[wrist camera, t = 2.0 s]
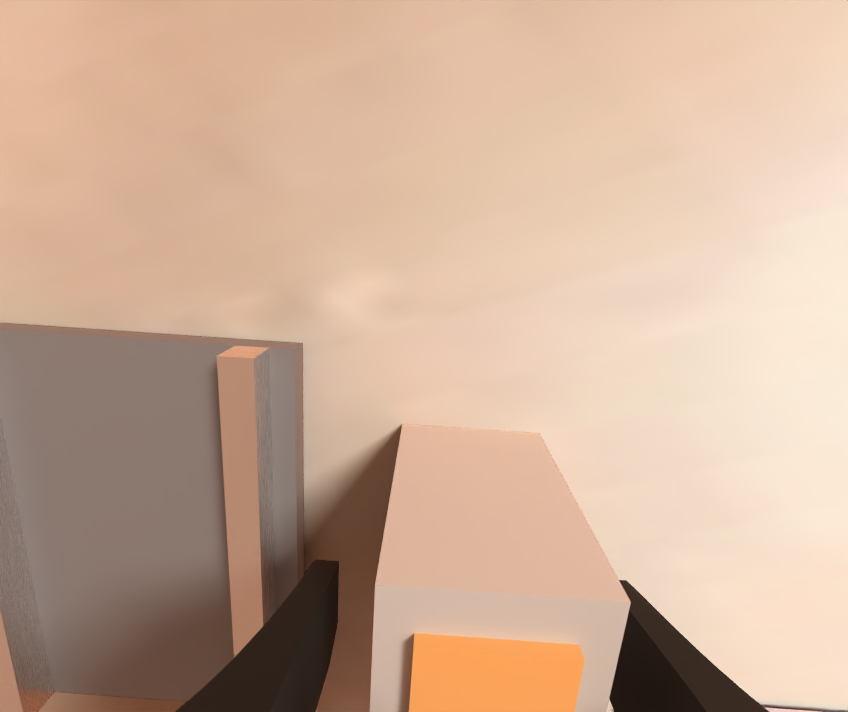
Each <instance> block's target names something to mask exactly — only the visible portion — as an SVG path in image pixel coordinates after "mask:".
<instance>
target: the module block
mask: <svg viewBox="0 0 848 712" xmlns="http://www.w3.org/2000/svg"><path fill="white" fill-rule="evenodd" d="M630 604H631V602H630V600H629V598H628V596H627V594H626V592H625V590H624V589H623V587H622V585H621V583H620V581H619V579H618V578H617V576H616V574H615V572H614V570H613V568H612V566H611V565H610V563H609V561H608V559H607V557H606V555H605V553H604V552H603V550H602V548H601V546H600V544H599V542H598V541H597V539H596V537H595V535H594V533H593V531H592V529H591V528H590V526H589V524H588V522H587V520H586V518H585V516H584V515H583V513H582V511H581V509H580V507H579V505H578V504H577V502H576V500H575V498H574V496H573V494H572V492H571V491H570V489H569V487H568V485H567V483H566V481H565V480H564V478H563V476H562V474H561V472H560V470H559V468H558V467H557V465H556V463H555V461H554V459H553V457H552V455H551V454H550V452H549V450H548V448H547V446H546V444H545V443H544V441H543V439H542V437H541V435H540V433H529V432H515V431H500V430H485V429H471V428H456V427H441V426H427V425H412V424H402V429H401V435H400V441H399V447H398V452H397V458H396V464H395V470H394V476H393V482H392V488H391V494H390V499H389V505H388V511H387V517H386V523H385V529H384V535H383V541H382V547H381V552H380V558H379V564H378V570H377V576H376V582H375V598H374V621H373V644H372V668H371V691H370V712H606V710H607V706H608V702H609V697H610V693H611V688H612V684H613V679H614V675H615V671H616V666H617V662H618V657H619V653H620V648H621V644H622V640H623V635H624V631H625V626H626V622H627V617H628V613H629V608H630Z"/></svg>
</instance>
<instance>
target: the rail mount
mask: <svg viewBox="0 0 848 712" xmlns="http://www.w3.org/2000/svg"><path fill="white" fill-rule="evenodd" d="M303 576H304V473H303V343H291V342H276V341H261V340H247V339H232V338H217V337H203V336H188V335H173V334H159V333H144V332H129V331H114V330H100V329H85V328H70V327H56V326H41V325H26V324H12V323H0V712H38V711H39V710H40V709H41V708H42V706H43V705H44V704H45V703H46V702H47V700H48V699H49V698H50V697H51V696H52V694H53V693H54V692H59V693H73V694H87V695H101V696H115V697H129V698H143V699H157V700H171V701H185V702H187V701H188V700H189V699H190V698H192V697H193V696H194V695H195V694H196V693H197V692H198V691H200V690H201V689H202V688H203V687H204V686H205V685H206V684H207V683H208V682H209V681H211V680H212V679H213V678H214V677H215V676H216V675H217V674H218V673H219V672H220V671H221V670H222V669H223V668H224V667H225V666H226V665H227V664H228V663H229V662H230V661H231V660H232V659H233V658H234V657H235V656H236V655H237V654H238V653H239V652H240V651H241V650H242V649H243V648H244V647H245V646H246V644H247V643H248V642H249V641H250V640H251V639H252V638H253V637H254V636H255V635H256V633H257V632H258V631H259V630H260V629H261V628H262V627H263V626H264V625H265V623H266V622H267V621H268V620H269V619H270V618H271V616H272V615H273V614H274V613H275V612H276V610H277V609H278V608H279V607H280V605H281V604H282V603H283V602H284V601H285V599H286V598H287V597H288V596H289V594H290V593H291V592H292V590H293V589H294V588H295V587H296V585H297V584H298V583H299V581H300V580H301V578H302V577H303Z"/></svg>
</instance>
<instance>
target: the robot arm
mask: <svg viewBox="0 0 848 712" xmlns="http://www.w3.org/2000/svg"><path fill="white" fill-rule="evenodd" d="M338 573H339V561H326V560H316V561H314V562H313V563H312V564H311V566H310V567H309V569H308V570H307V571H306V573H305V574H304V576H303V577H302V578H301V580H300V581H299V583H298V584H297V585H296V587H295V588H294V589H293V590H292V592H291V593H290V594H289V596H288V597H287V598H286V599H285V601H284V602H283V603H282V604H281V605H280V607H279V608H278V609H277V610H276V612H275V613H274V614H273V615H272V616H271V618H270V619H269V620H268V621H267V622H266V623H265V625H264V626H263V627H262V628H261V629H260V630H259V631H258V632H257V633H256V635H255V636H254V637H253V638H252V639H251V640H250V641H249V642H248V643H247V644H246V646H245V647H244V648H243V649H242V650H241V651H240V652H239V653H238V654H237V655H236V656H235V657H234V658H233V659H232V660H231V661H230V662H229V663H228V664H227V665H226V666H225V667H224V668H223V669H222V670H221V671H220V672H219V673H218V674H217V675H216V676H215V677H214V678H213V679H212V680H211V681H209V682H208V683H207V684H206V685H205V686H204V687H203V688H202V689H201V690H200V691H198V692H197V693H196V694H195V695H194V696H193V697H192V698H190V699H189V700H188V701H187V702H186V703H185V704H184V705H183V706H181V707H180V708H179V709H178V710H177V711H176V712H315V711H316V708H317V704H318V701H319V698H320V694H321V691H322V688H323V684H324V681H325V678H326V674H327V671H328V667H329V664H330V659H331V654H332V649H333V644H334V639H335V634H336V629H337V623H338ZM619 581H620V583H621V585H622V587H623V589H624V590H625V592H626V594H627V596H628V598H629V600H630V602H631V604H630V608H629V613H628V617H627V622H626V626H625V631H624V635H623V640H622V644H621V648H620V653H619V657H618V662H617V666H616V671H615V675H614V679H613V684H612V688H611V693H610V697H609V699H610V701H611V704H612V706H613V709H614V711H615V712H821V711H807V710H793V709H779V708H765V707H763V706H761V705H760V704H759V703H758V702H756V701H755V700H754V699H753V698H752V697H750V696H749V695H748V694H747V693H746V692H744V691H743V690H742V689H741V688H740V687H739V686H737V685H736V684H735V683H734V682H733V681H732V680H731V679H729V678H728V677H727V676H726V675H725V674H724V673H723V672H721V671H720V670H719V669H718V668H717V667H716V666H715V665H714V664H712V663H711V662H710V661H709V660H708V659H707V658H706V657H705V656H704V655H703V654H702V653H700V652H699V651H698V650H697V649H696V648H695V647H694V646H693V645H692V644H691V643H690V642H689V641H688V640H687V639H686V638H685V637H684V636H683V635H681V634H680V633H679V632H678V631H677V630H676V629H675V628H674V627H673V626H672V625H671V624H670V623H669V622H668V621H667V620H666V619H665V618H664V617H663V616H662V615H661V614H660V613H659V612H658V611H657V610H656V609H655V608H654V607H653V606H652V605H651V604H650V603H649V602H648V601H647V600H646V599H645V598H644V597H643V596H642V595H641V594H640V593H639V592H638V591H637V590H636V589H635V588H634V587H633V586H631V585H630V584H629V583H628V582H627V581H624V580H619Z"/></svg>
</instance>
